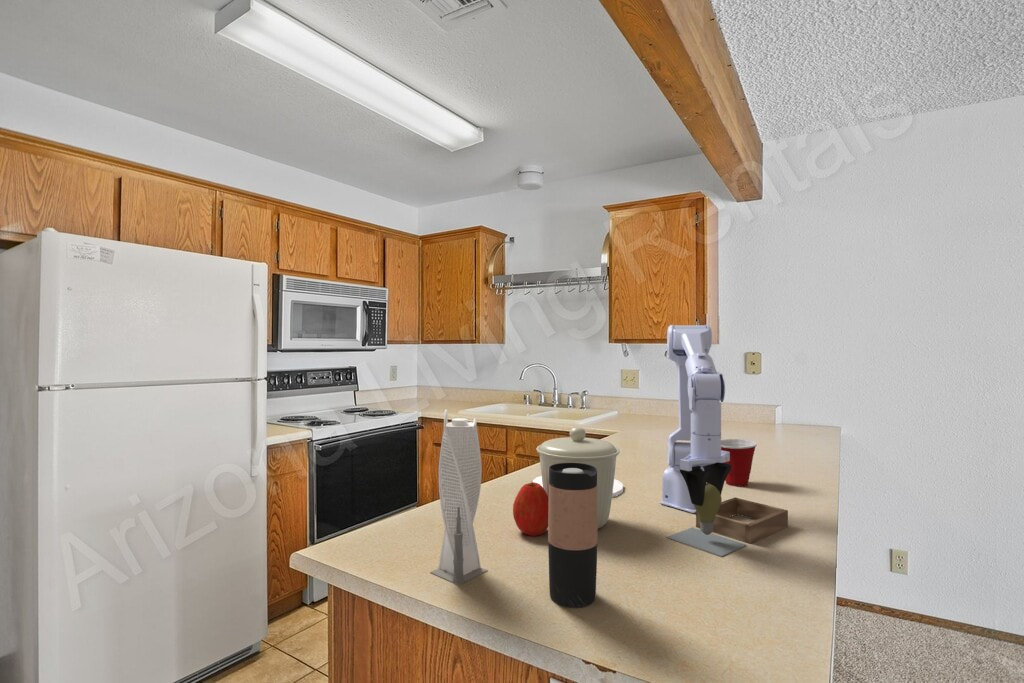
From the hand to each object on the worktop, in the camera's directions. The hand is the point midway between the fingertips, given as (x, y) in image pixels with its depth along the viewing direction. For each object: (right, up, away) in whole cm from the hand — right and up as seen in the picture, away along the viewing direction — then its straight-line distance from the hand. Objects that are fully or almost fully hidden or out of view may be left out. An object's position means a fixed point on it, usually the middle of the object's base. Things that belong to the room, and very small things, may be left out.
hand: (705, 501), depth 104 cm
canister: (-24, -8, +10) cm, 28 cm away
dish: (-21, -9, +40) cm, 46 cm away
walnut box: (+11, -8, +9) cm, 16 cm away
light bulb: (0, -7, 0) cm, 7 cm away
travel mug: (-29, -8, -23) cm, 38 cm away
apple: (-34, -8, +5) cm, 36 cm away
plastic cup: (+25, -9, +43) cm, 50 cm away
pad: (0, -8, 0) cm, 8 cm away
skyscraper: (-48, -8, -13) cm, 50 cm away
